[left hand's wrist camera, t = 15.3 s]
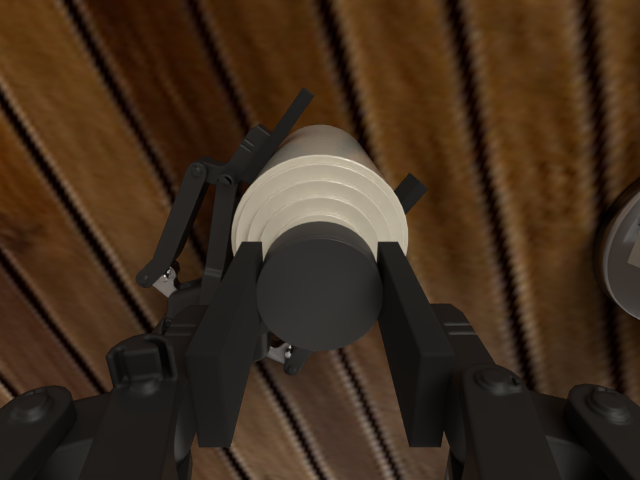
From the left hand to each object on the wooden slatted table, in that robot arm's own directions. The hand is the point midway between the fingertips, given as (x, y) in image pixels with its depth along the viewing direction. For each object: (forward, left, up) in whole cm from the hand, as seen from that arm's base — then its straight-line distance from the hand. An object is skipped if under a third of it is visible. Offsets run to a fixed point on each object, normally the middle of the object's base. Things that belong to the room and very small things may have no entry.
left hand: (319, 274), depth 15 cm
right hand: (+2, -4, -11) cm, 12 cm away
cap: (0, 0, +1) cm, 1 cm away
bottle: (0, 0, -18) cm, 18 cm away
